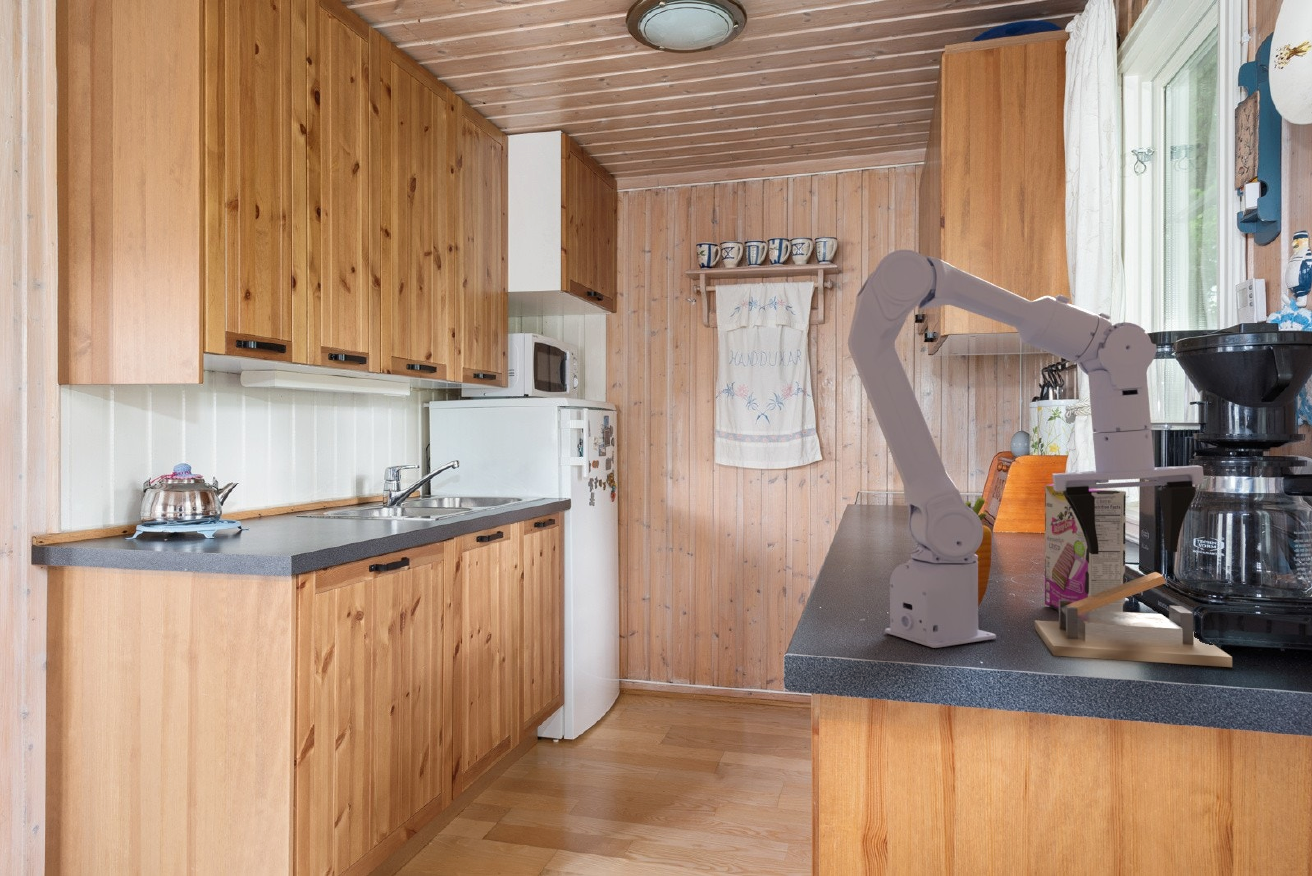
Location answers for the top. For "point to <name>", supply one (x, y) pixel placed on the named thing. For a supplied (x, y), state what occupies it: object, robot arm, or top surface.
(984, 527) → the carrot
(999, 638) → the top surface
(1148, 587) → the copper strap
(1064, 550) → the candy bar box
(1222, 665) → the birch board
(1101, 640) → the stone
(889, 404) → the robot arm
